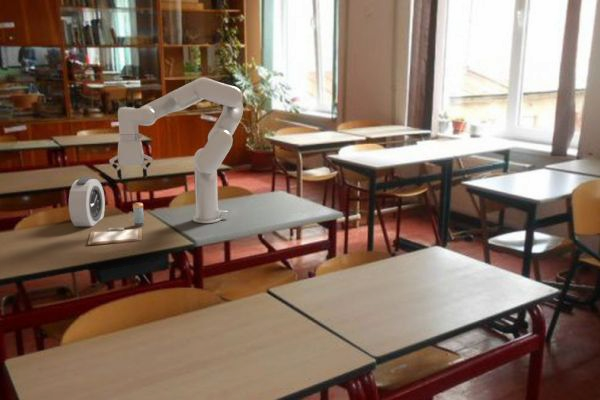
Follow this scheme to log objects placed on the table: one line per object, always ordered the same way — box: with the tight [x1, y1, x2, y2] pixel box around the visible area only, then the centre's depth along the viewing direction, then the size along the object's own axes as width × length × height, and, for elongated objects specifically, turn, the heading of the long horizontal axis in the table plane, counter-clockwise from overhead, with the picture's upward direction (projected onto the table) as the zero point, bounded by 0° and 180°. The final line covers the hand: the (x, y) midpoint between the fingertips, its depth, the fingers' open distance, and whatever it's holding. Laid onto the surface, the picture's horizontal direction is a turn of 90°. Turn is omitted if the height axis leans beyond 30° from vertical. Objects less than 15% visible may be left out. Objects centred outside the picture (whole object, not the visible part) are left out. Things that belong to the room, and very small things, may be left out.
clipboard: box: [87, 226, 143, 246], centre depth 229 cm, size 20×16×2 cm
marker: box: [132, 202, 145, 228], centre depth 242 cm, size 4×4×10 cm
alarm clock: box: [68, 176, 106, 228], centre depth 247 cm, size 21×8×20 cm, turn 179°
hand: (132, 178), depth 238 cm, fingers open, 9 cm apart
